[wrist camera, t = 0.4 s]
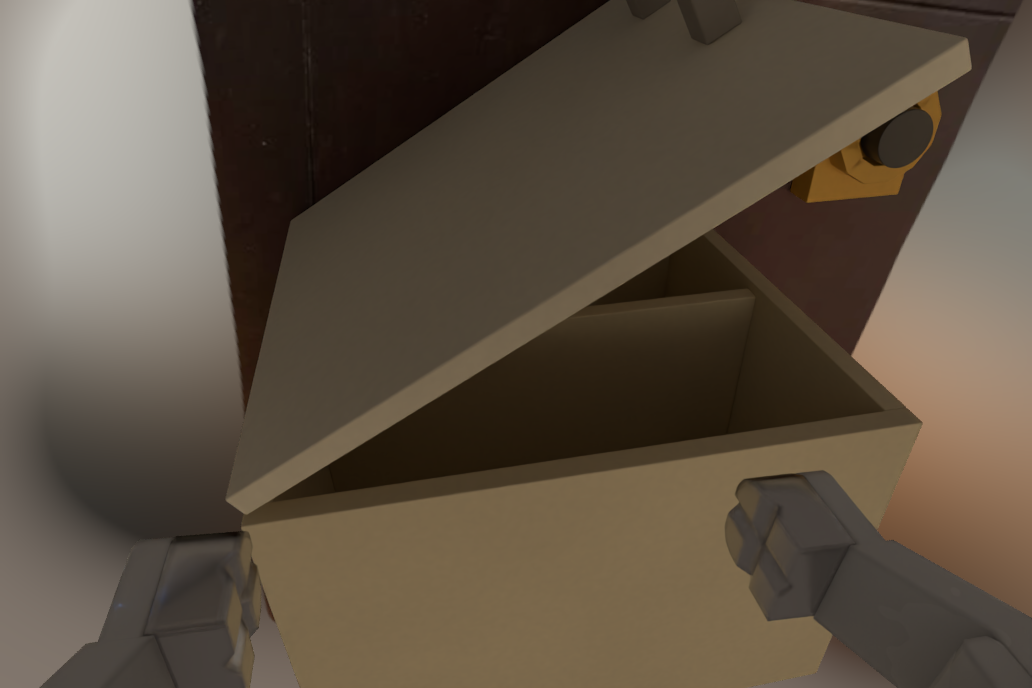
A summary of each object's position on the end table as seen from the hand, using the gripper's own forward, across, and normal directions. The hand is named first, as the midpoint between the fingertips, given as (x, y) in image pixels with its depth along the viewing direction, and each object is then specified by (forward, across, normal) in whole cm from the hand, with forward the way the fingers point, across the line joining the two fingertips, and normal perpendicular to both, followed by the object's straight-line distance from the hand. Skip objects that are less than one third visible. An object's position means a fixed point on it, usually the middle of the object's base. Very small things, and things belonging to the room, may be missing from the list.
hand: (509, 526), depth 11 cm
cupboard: (+33, -7, +18) cm, 38 cm away
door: (+33, -2, -1) cm, 33 cm away
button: (+30, -30, +2) cm, 42 cm away
